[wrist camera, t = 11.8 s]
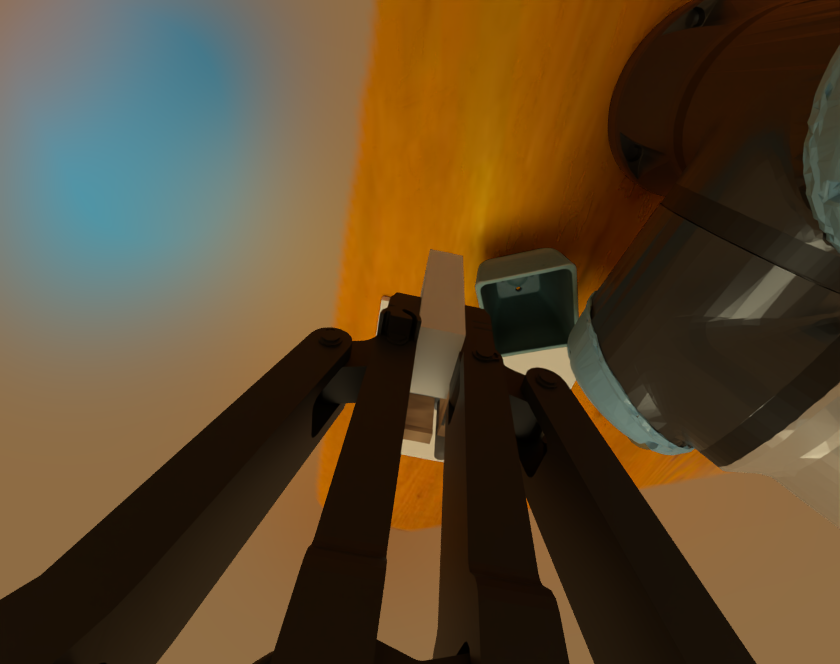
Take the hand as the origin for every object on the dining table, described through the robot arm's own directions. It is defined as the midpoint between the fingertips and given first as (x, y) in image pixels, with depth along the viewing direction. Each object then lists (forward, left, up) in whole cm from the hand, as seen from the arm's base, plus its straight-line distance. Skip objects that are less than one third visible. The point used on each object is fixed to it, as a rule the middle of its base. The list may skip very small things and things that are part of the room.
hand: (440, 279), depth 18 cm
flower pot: (-10, +9, -25) cm, 28 cm away
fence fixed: (-2, +29, -23) cm, 37 cm away
